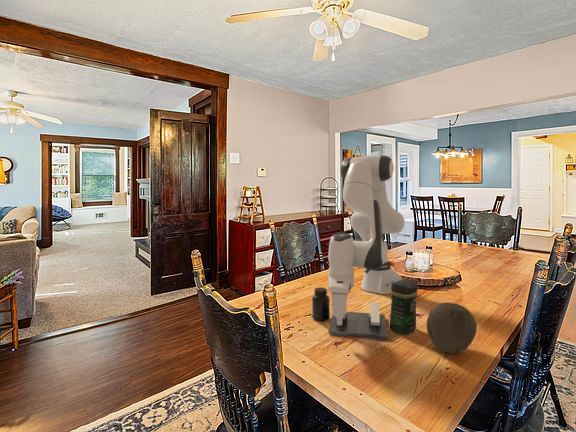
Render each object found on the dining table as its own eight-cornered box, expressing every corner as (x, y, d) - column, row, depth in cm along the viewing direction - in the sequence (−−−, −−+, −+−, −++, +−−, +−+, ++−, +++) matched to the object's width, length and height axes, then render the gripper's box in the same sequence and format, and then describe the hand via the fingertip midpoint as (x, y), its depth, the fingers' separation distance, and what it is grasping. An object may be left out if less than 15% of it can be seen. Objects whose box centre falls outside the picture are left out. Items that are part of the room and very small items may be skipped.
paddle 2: (368, 307, 125) (368, 302, 124) (380, 308, 124) (380, 303, 123) (368, 326, 117) (369, 321, 116) (381, 327, 116) (381, 322, 115)
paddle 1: (337, 308, 128) (337, 302, 128) (348, 309, 127) (348, 303, 127) (335, 320, 119) (335, 313, 118) (347, 321, 118) (347, 314, 117)
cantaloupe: (474, 366, 95) (476, 317, 93) (422, 353, 103) (424, 308, 101) (476, 345, 107) (478, 301, 105) (429, 335, 115) (431, 293, 113)
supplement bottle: (317, 313, 134) (317, 285, 133) (332, 317, 130) (332, 288, 129) (309, 319, 128) (308, 290, 127) (324, 323, 125) (324, 293, 123)
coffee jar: (407, 338, 112) (408, 286, 110) (386, 330, 118) (387, 281, 116) (419, 329, 119) (421, 279, 117) (399, 322, 125) (400, 275, 123)
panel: (333, 314, 133) (333, 306, 133) (384, 318, 129) (384, 309, 128) (328, 334, 116) (328, 325, 115) (387, 340, 111) (387, 330, 111)
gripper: (334, 272, 124) (334, 307, 125) (328, 288, 104) (328, 330, 105) (351, 273, 122) (350, 309, 123) (348, 290, 102) (348, 332, 104)
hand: (340, 319), depth 114 cm, fingers open, 7 cm apart
